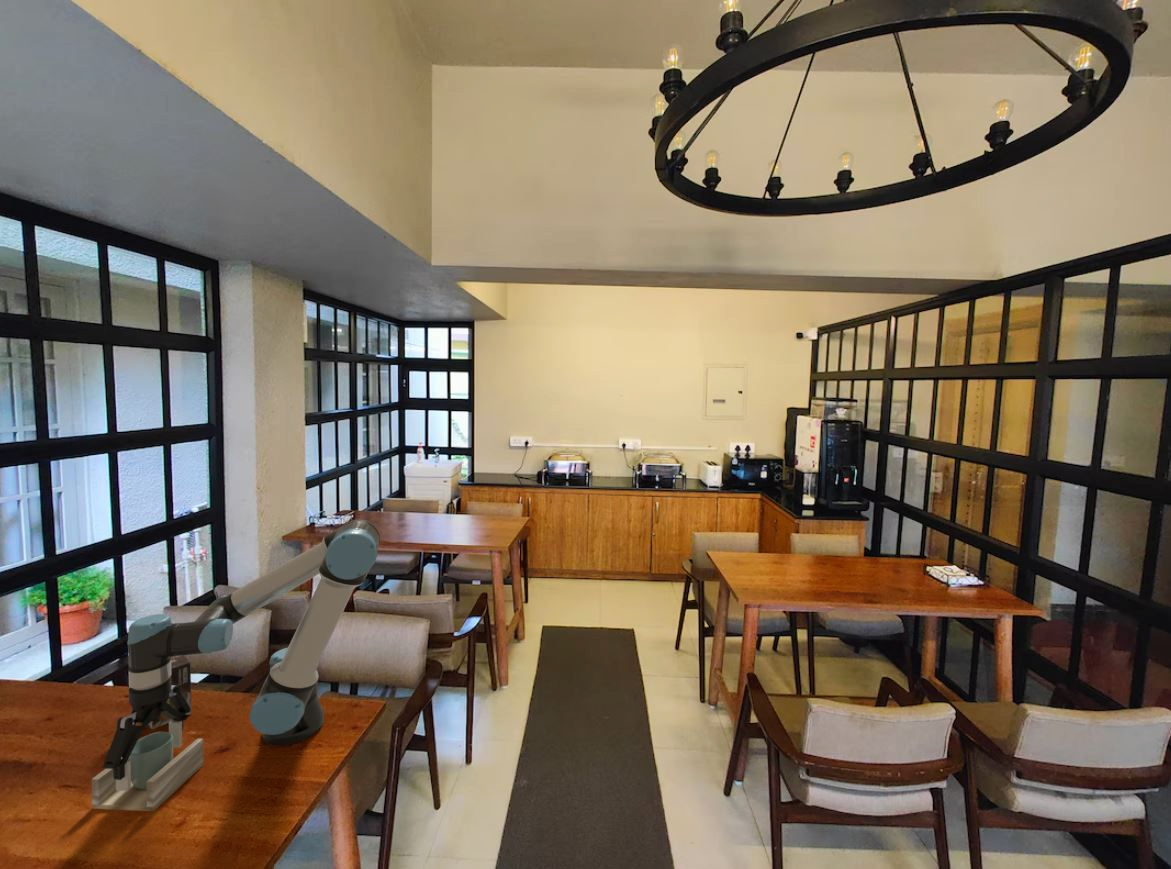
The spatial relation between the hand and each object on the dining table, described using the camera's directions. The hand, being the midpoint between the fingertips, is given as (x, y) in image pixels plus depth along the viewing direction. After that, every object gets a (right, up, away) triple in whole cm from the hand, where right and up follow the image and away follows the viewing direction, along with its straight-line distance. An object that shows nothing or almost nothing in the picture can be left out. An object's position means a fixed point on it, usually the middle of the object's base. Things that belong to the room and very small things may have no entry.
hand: (151, 766), depth 114 cm
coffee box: (-17, -3, +24) cm, 30 cm away
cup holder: (0, -5, 0) cm, 5 cm away
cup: (0, -4, 0) cm, 4 cm away
